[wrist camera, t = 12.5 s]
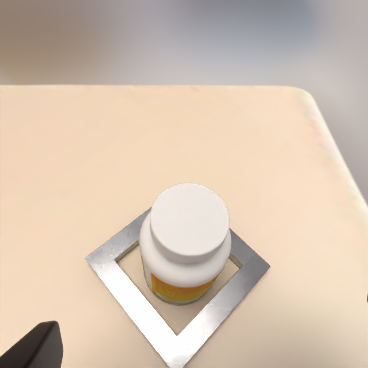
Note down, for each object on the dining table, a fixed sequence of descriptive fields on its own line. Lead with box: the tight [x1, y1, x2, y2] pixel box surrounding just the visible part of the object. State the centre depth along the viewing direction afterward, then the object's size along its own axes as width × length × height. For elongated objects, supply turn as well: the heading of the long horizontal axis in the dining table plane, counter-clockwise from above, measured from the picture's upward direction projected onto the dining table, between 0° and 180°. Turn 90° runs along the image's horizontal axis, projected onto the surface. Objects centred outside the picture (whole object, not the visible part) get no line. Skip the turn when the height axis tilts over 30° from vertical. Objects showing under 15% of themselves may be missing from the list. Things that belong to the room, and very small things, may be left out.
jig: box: [85, 207, 270, 368], centre depth 21 cm, size 10×10×1 cm
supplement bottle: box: [139, 183, 231, 305], centre depth 18 cm, size 5×5×10 cm
